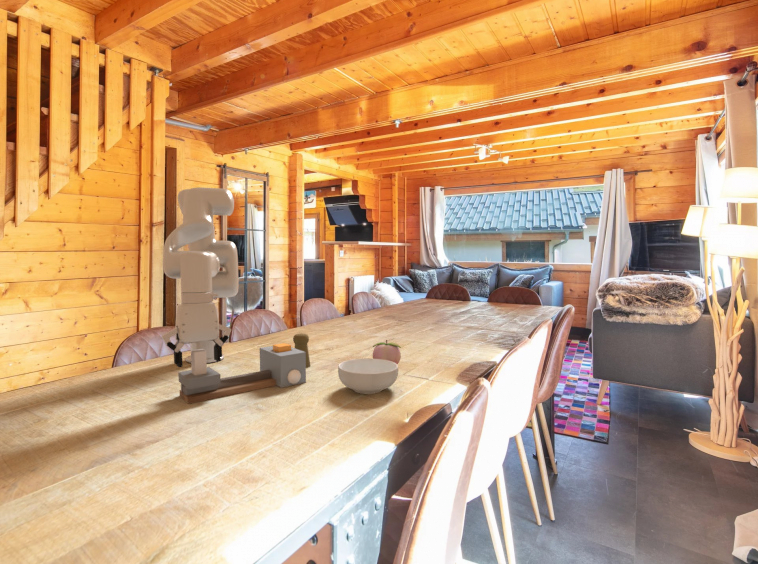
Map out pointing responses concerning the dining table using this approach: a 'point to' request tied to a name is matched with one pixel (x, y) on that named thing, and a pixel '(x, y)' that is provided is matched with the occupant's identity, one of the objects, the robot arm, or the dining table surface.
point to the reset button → (281, 347)
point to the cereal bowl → (367, 374)
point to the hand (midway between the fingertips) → (198, 363)
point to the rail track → (233, 386)
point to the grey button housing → (284, 365)
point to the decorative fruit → (387, 352)
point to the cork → (302, 345)
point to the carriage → (199, 375)
